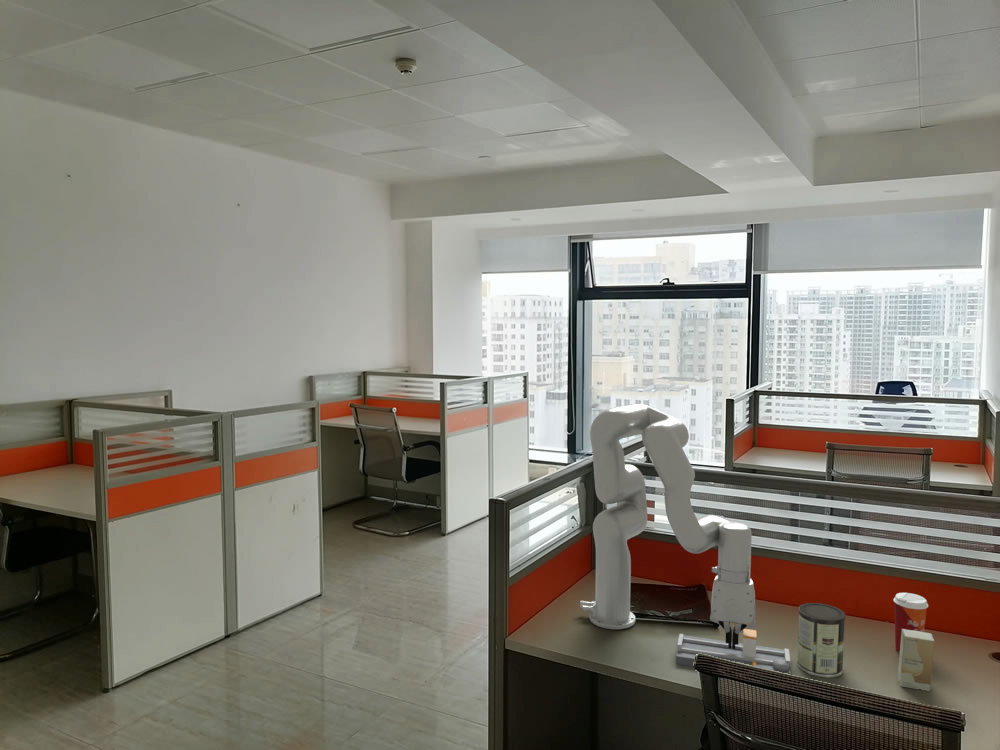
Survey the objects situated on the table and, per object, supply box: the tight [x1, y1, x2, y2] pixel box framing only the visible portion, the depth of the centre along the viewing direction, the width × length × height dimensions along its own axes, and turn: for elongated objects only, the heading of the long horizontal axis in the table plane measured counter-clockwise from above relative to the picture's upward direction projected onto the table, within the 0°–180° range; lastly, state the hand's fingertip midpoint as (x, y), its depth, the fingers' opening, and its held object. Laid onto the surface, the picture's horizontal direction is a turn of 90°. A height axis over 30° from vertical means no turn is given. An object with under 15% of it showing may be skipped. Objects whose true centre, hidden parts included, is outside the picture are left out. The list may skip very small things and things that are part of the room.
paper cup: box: [893, 592, 929, 654], centre depth 185 cm, size 8×8×14 cm
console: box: [675, 633, 791, 675], centre depth 180 cm, size 26×12×4 cm, turn 71°
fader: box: [742, 628, 757, 658], centre depth 179 cm, size 3×4×6 cm
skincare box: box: [897, 629, 935, 692], centre depth 169 cm, size 6×4×12 cm
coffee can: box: [796, 602, 846, 679], centre depth 177 cm, size 10×10×14 cm
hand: (731, 646), depth 180 cm, fingers closed
